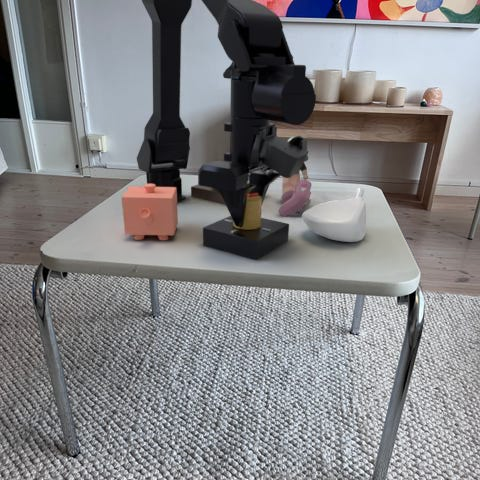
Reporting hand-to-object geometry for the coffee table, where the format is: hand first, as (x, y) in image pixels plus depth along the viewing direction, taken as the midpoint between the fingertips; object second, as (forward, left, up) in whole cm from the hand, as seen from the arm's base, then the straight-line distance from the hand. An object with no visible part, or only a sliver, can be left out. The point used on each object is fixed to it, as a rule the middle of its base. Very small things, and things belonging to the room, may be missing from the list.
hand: (246, 222), depth 75 cm
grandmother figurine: (-5, +25, -3) cm, 26 cm away
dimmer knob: (0, 0, 0) cm, 0 cm away
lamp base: (-18, +21, -4) cm, 28 cm away
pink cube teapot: (-15, -6, -4) cm, 16 cm away
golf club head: (+10, +12, -4) cm, 16 cm away
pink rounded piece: (-2, +21, -4) cm, 22 cm away
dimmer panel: (0, 0, -4) cm, 4 cm away
